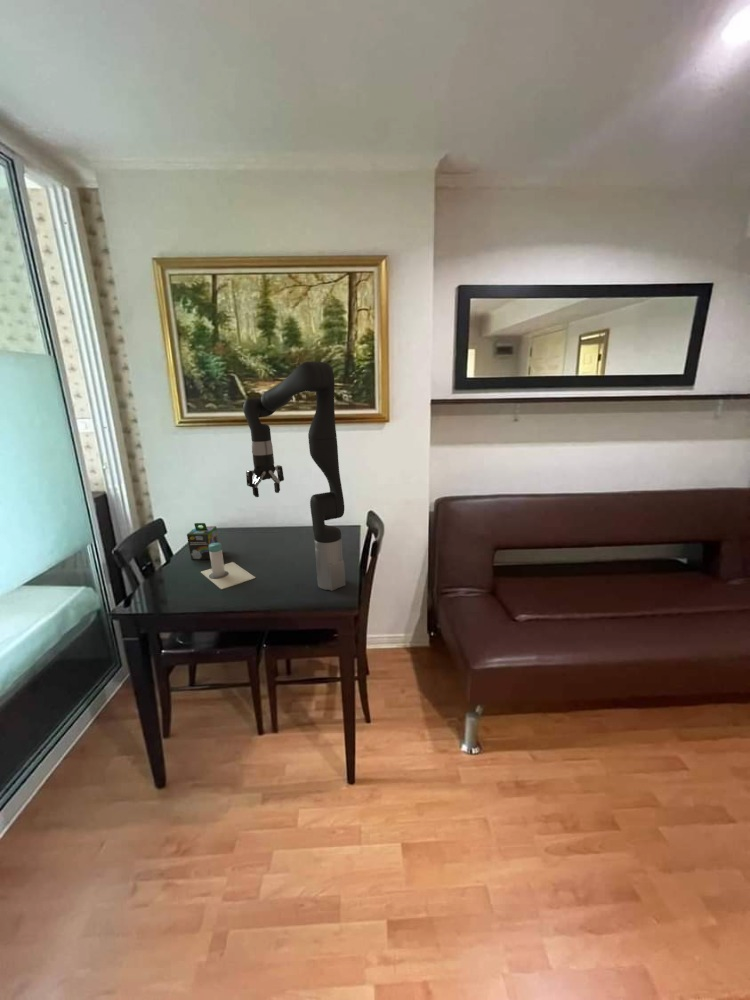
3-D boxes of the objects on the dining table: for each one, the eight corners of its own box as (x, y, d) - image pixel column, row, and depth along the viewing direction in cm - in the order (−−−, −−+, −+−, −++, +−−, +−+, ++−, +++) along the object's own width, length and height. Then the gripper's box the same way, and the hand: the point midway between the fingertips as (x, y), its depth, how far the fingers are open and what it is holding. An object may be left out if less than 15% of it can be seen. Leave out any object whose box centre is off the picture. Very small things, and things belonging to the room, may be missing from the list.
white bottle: (227, 574, 165) (223, 544, 162) (215, 578, 162) (211, 547, 159) (222, 571, 168) (218, 541, 165) (211, 574, 165) (206, 544, 162)
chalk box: (220, 551, 189) (216, 518, 185) (211, 559, 180) (206, 525, 176) (200, 551, 190) (195, 518, 186) (190, 559, 181) (184, 525, 177)
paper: (255, 578, 162) (255, 577, 162) (221, 589, 154) (221, 588, 154) (232, 562, 177) (232, 561, 176) (200, 572, 168) (200, 571, 168)
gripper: (249, 456, 156) (254, 500, 161) (284, 451, 165) (288, 492, 169) (240, 454, 162) (245, 496, 166) (275, 449, 171) (278, 489, 175)
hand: (267, 494), depth 168 cm, fingers open, 8 cm apart
